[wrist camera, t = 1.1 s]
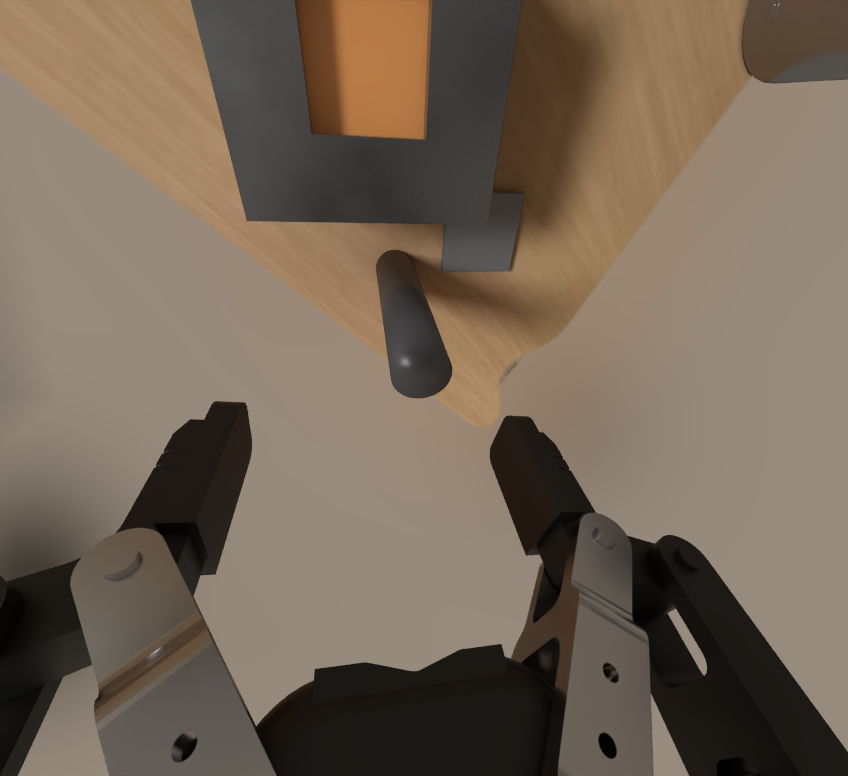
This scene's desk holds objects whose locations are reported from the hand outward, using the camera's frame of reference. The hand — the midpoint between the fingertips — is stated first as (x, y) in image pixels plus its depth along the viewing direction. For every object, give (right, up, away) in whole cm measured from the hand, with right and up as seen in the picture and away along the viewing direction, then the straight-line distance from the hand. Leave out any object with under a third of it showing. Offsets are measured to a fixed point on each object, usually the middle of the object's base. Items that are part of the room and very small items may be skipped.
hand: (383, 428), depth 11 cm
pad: (+6, +14, +17) cm, 23 cm away
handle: (-1, +11, +18) cm, 21 cm away
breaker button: (-2, +18, +7) cm, 20 cm away
